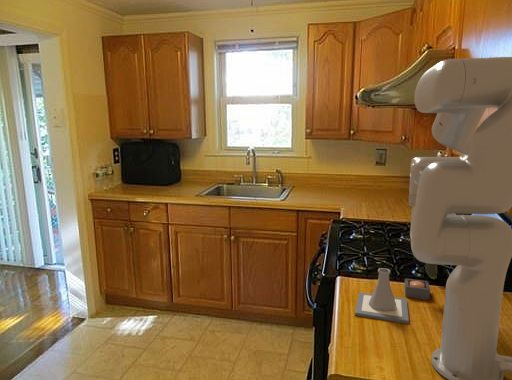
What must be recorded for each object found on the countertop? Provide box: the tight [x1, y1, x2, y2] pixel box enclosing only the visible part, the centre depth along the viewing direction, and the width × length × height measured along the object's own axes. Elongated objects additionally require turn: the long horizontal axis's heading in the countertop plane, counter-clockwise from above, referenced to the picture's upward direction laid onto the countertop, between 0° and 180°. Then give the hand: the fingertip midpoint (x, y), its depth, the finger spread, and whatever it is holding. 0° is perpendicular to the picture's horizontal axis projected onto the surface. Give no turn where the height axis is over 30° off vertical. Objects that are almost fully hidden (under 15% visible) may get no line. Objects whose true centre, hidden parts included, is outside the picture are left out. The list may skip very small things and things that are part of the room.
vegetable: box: [424, 263, 438, 280], centre depth 120 cm, size 4×4×20 cm
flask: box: [369, 267, 396, 311], centre depth 100 cm, size 7×7×10 cm
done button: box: [410, 281, 425, 288], centre depth 110 cm, size 4×4×3 cm
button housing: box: [403, 278, 431, 300], centre depth 110 cm, size 6×6×3 cm
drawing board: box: [354, 292, 410, 325], centre depth 101 cm, size 13×13×1 cm
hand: (419, 263), depth 108 cm, fingers closed
